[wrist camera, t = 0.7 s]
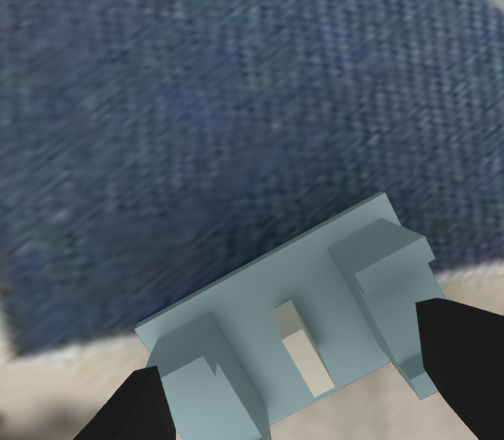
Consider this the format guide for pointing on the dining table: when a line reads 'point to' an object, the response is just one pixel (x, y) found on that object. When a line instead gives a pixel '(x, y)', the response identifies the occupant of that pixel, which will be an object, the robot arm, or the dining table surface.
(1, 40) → the dining table surface
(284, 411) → the stand
